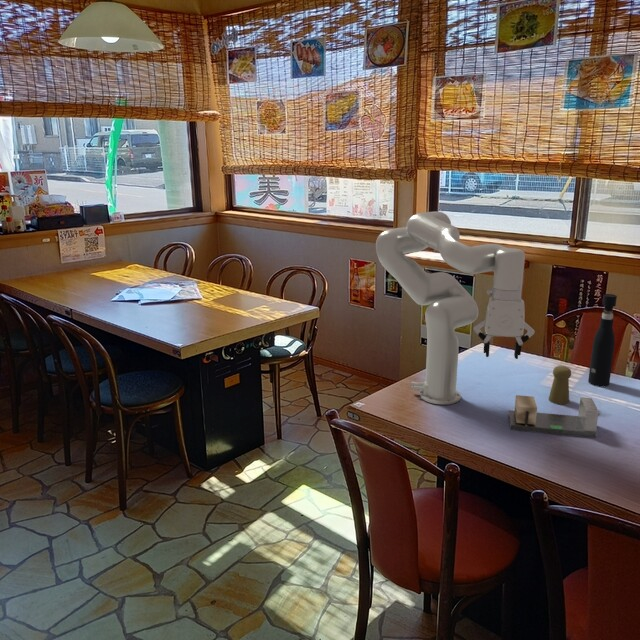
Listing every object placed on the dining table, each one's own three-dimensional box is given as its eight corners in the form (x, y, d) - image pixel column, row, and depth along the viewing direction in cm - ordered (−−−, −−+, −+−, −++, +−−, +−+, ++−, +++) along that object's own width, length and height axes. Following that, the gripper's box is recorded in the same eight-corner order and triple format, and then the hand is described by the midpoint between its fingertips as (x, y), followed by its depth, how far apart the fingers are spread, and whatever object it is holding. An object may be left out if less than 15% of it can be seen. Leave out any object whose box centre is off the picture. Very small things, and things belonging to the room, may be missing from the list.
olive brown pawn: (571, 405, 183) (575, 371, 180) (550, 403, 184) (553, 370, 181) (567, 397, 189) (571, 364, 186) (547, 396, 190) (550, 363, 187)
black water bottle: (610, 381, 201) (622, 294, 193) (607, 388, 196) (619, 298, 188) (589, 378, 205) (600, 292, 196) (586, 384, 199) (597, 296, 191)
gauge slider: (516, 424, 167) (518, 407, 165) (514, 411, 175) (515, 395, 174) (535, 426, 166) (537, 409, 164) (532, 412, 174) (534, 396, 173)
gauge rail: (510, 429, 168) (513, 405, 166) (508, 414, 177) (510, 391, 175) (595, 437, 163) (599, 412, 161) (588, 421, 172) (591, 397, 170)
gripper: (473, 296, 161) (469, 358, 166) (542, 299, 157) (535, 363, 162) (473, 289, 168) (469, 350, 173) (538, 292, 164) (532, 354, 169)
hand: (501, 356), depth 168 cm, fingers open, 7 cm apart
